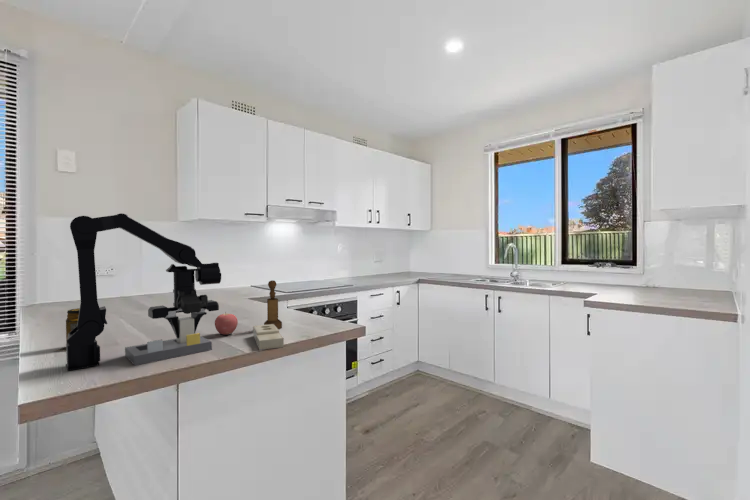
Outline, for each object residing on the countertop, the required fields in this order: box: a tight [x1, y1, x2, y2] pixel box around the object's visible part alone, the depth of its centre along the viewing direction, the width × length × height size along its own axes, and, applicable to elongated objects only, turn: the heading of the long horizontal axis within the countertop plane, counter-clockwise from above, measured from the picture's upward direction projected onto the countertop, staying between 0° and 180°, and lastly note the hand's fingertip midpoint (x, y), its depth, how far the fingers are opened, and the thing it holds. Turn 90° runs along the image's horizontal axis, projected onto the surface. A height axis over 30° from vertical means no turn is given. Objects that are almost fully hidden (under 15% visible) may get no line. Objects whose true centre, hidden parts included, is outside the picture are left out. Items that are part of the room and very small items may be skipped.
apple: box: [214, 311, 239, 336], centre depth 132 cm, size 7×7×8 cm
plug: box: [175, 316, 196, 344], centre depth 115 cm, size 4×4×8 cm
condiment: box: [54, 307, 80, 352], centre depth 118 cm, size 7×8×12 cm
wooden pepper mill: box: [263, 280, 283, 330], centre depth 141 cm, size 7×6×18 cm
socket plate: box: [124, 332, 213, 366], centre depth 111 cm, size 20×12×6 cm, turn 134°
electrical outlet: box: [252, 324, 285, 351], centre depth 122 cm, size 7×4×18 cm
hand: (185, 336), depth 115 cm, fingers closed on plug, 4 cm apart
